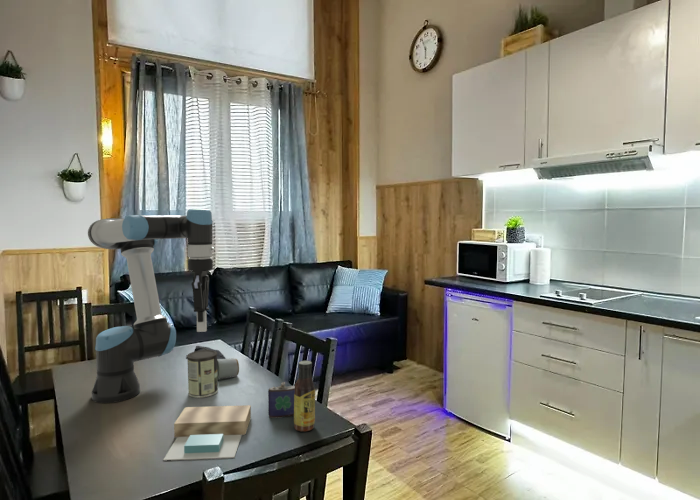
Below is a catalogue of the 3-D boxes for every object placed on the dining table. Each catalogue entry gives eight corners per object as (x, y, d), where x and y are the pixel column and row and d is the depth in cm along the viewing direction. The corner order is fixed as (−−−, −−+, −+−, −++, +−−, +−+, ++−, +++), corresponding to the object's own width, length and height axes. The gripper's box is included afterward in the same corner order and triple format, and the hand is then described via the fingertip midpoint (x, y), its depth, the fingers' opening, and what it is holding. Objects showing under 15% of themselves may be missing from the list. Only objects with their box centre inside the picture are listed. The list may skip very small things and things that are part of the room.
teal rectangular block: (190, 435, 123) (190, 441, 123) (184, 446, 117) (184, 453, 117) (223, 433, 124) (223, 440, 124) (218, 444, 118) (218, 451, 118)
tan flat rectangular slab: (174, 437, 126) (174, 423, 126) (185, 419, 137) (185, 407, 137) (245, 434, 128) (245, 421, 128) (250, 417, 139) (250, 405, 139)
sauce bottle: (306, 434, 128) (306, 367, 127) (289, 429, 131) (289, 363, 130) (319, 426, 134) (319, 361, 132) (303, 421, 137) (302, 358, 135)
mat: (163, 460, 114) (163, 459, 114) (177, 437, 126) (177, 436, 126) (234, 457, 116) (234, 456, 115) (241, 435, 127) (241, 434, 127)
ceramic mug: (240, 378, 173) (239, 359, 173) (218, 382, 169) (218, 362, 169) (233, 371, 182) (232, 352, 182) (212, 374, 178) (212, 355, 178)
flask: (297, 412, 143) (296, 379, 142) (298, 416, 140) (297, 383, 140) (268, 414, 141) (267, 382, 140) (268, 419, 138) (268, 385, 137)
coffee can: (202, 385, 166) (201, 348, 165) (224, 389, 162) (223, 351, 161) (181, 395, 157) (180, 356, 156) (203, 400, 152) (203, 360, 151)
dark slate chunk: (194, 371, 183) (194, 359, 182) (185, 356, 202) (184, 346, 201) (231, 365, 190) (231, 354, 190) (219, 351, 209) (219, 342, 209)
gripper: (207, 259, 134) (209, 336, 136) (216, 256, 147) (218, 326, 149) (182, 259, 133) (183, 336, 135) (193, 256, 146) (195, 326, 148)
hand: (201, 331), depth 142 cm, fingers closed
